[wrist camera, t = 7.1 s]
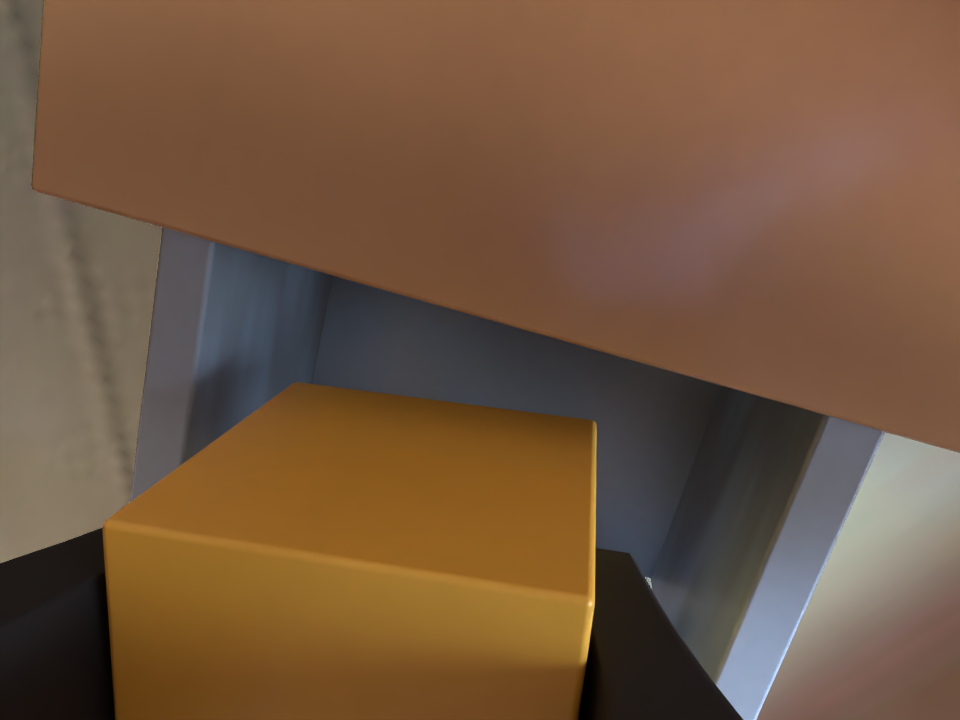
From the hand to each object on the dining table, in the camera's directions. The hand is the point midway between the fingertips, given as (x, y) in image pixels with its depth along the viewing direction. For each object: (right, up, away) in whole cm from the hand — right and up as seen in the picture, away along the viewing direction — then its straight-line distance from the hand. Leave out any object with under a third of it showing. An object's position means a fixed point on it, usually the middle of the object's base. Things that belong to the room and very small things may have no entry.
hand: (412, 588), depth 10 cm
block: (0, 0, +1) cm, 1 cm away
